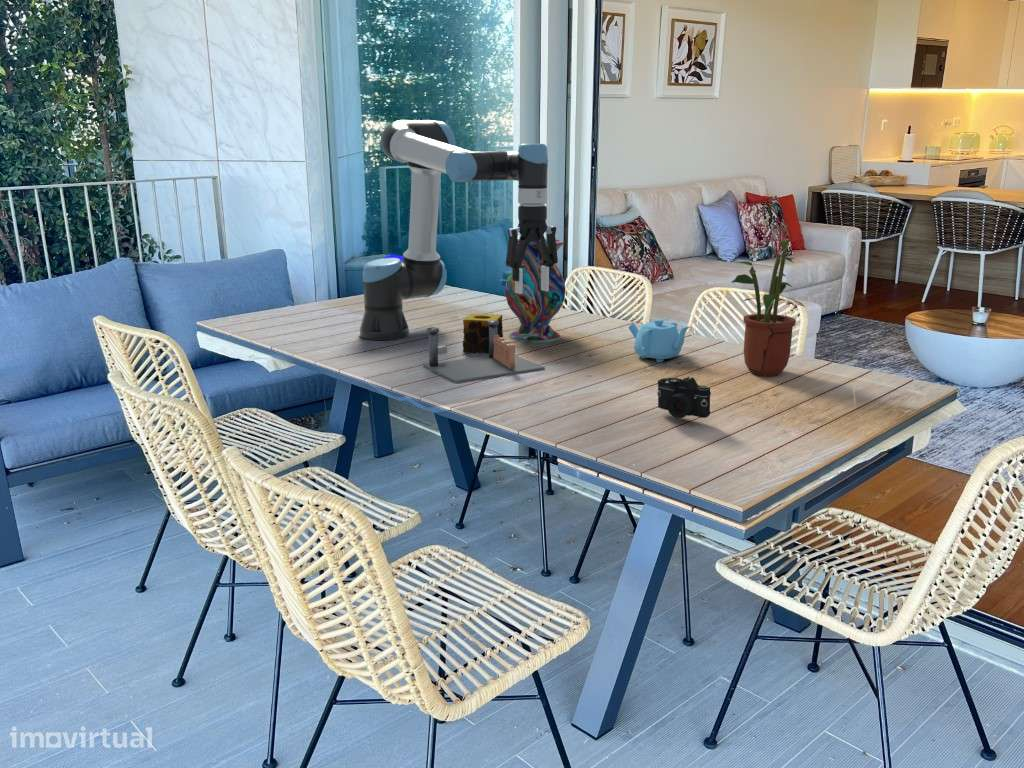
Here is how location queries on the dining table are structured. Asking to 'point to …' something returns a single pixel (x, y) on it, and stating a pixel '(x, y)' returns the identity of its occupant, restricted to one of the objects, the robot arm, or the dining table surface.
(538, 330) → the vase
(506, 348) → the gate
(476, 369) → the mat
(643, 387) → the dining table surface
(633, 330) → the teapot
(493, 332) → the glossy grey waisted cylinder
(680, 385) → the film camera
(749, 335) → the potted plant
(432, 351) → the latch post
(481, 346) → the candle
